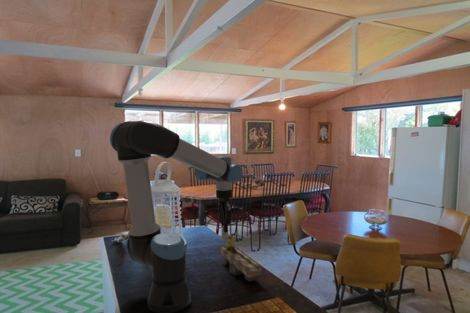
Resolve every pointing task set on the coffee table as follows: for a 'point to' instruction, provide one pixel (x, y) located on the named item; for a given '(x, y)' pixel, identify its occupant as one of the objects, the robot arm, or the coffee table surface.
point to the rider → (230, 243)
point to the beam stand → (241, 264)
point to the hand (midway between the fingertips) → (224, 238)
